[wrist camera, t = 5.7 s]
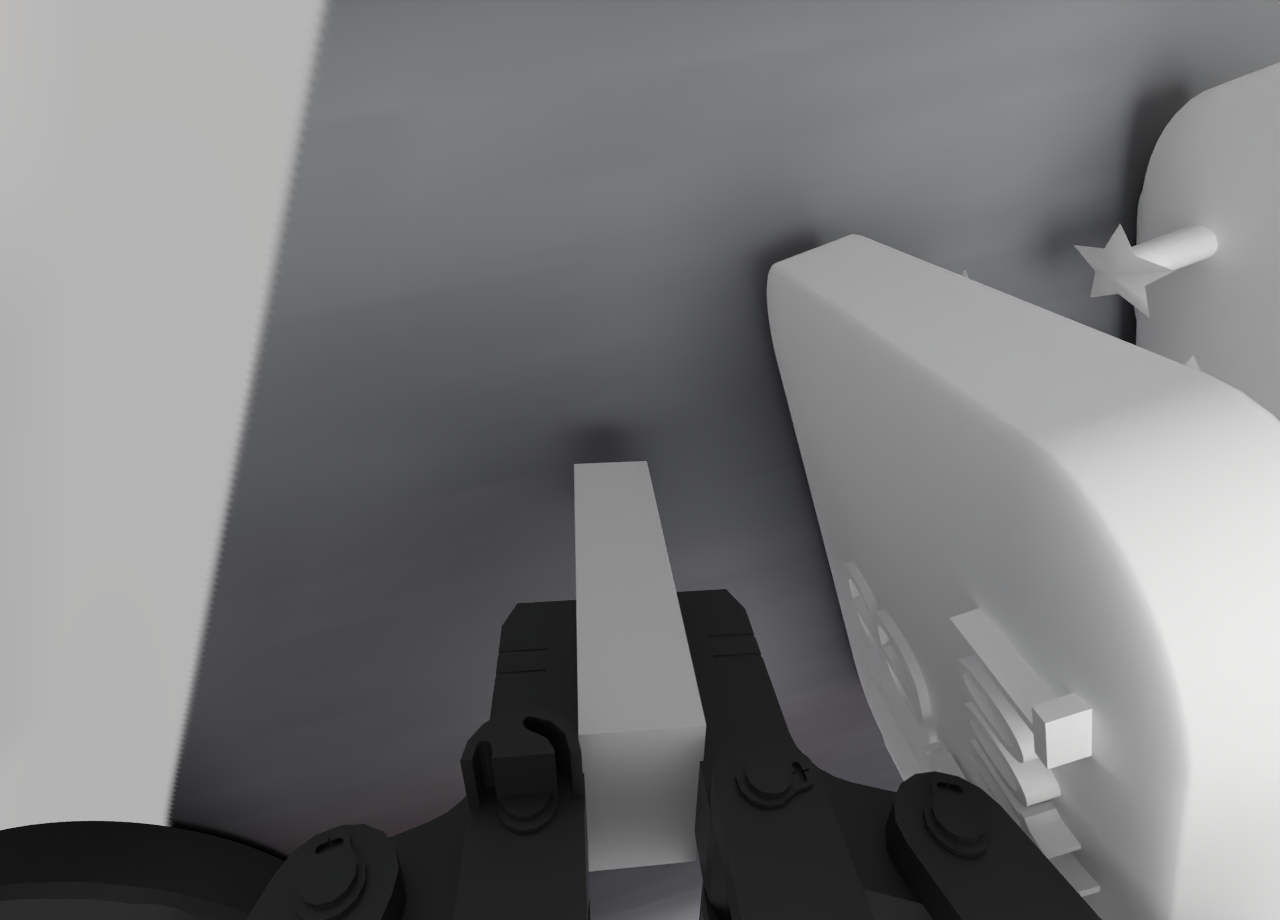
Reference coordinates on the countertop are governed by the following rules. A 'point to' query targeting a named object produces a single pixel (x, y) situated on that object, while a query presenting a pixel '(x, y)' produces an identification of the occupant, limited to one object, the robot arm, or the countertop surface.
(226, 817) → the countertop surface
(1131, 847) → the cable organizer
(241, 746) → the countertop surface
